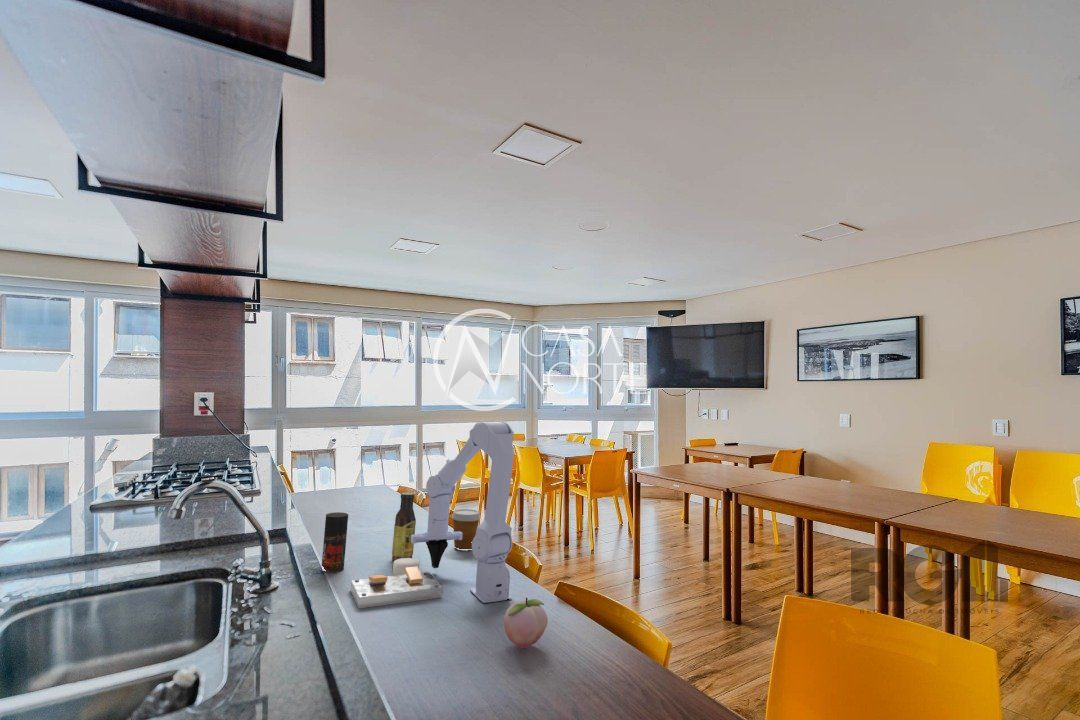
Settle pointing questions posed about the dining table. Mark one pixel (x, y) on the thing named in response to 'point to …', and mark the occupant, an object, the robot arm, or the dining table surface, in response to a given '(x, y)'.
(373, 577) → the paddle
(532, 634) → the decorative fruit
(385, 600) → the breaker panel
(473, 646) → the dining table surface
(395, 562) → the white egg-shaped stone
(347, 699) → the dining table surface
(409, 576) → the paddle
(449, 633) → the dining table surface
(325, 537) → the deodorant
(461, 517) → the disposable coffee cup
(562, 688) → the dining table surface
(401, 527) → the sauce bottle
